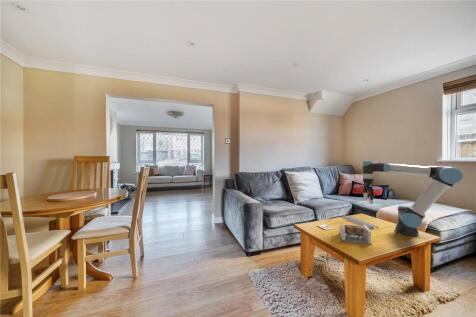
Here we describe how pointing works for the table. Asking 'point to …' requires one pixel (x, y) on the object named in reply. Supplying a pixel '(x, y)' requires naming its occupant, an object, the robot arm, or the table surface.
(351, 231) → the shelf block
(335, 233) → the table surface
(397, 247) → the table surface
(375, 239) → the table surface
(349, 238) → the peg frame
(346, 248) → the table surface
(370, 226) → the crown molding
